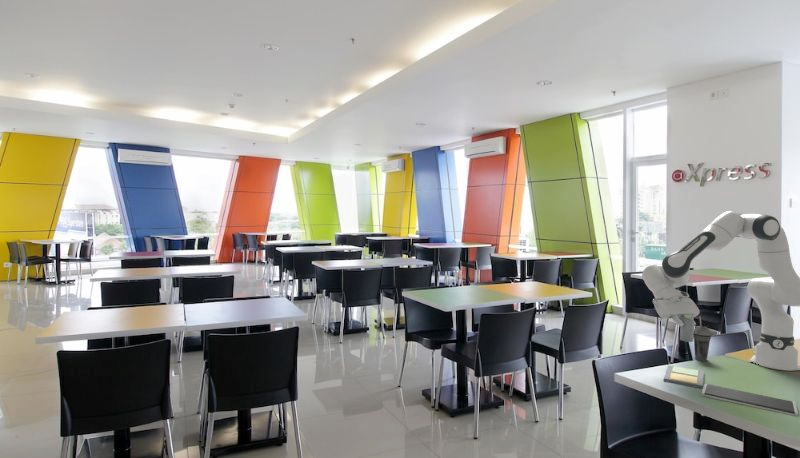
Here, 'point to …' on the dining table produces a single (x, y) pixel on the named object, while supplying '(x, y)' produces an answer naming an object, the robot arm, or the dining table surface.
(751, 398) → the grey tray
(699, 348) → the beverage cup
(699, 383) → the colour board
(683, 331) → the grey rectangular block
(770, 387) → the dining table surface
